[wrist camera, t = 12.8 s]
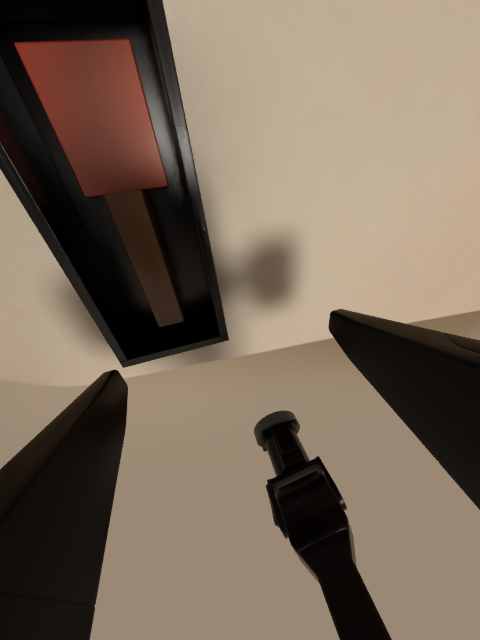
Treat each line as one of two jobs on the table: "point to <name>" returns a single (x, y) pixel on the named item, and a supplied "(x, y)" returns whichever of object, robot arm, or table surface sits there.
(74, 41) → the red pad with bar
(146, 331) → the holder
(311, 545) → the robot arm
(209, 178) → the table surface
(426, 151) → the table surface
